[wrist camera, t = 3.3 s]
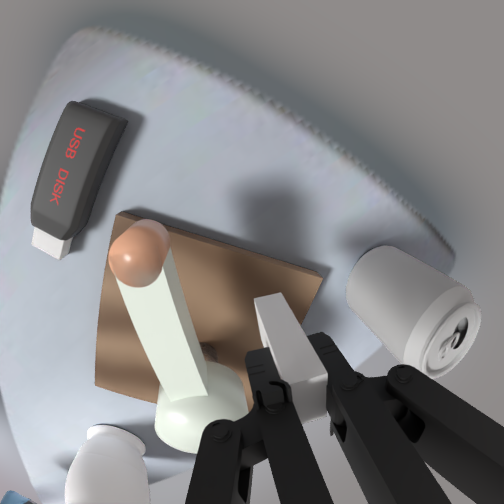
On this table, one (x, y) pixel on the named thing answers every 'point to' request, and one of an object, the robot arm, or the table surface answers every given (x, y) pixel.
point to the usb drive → (72, 175)
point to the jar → (108, 469)
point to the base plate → (198, 308)
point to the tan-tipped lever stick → (172, 339)
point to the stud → (209, 352)
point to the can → (413, 309)
